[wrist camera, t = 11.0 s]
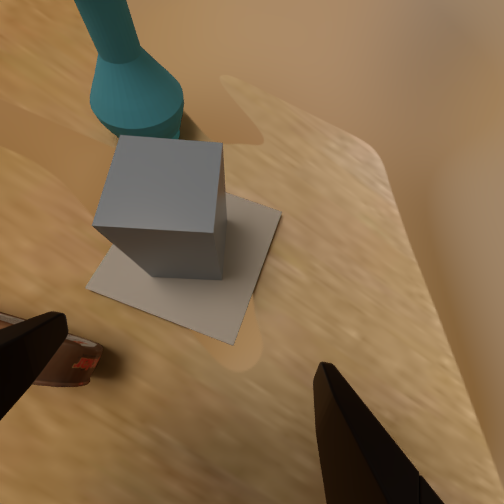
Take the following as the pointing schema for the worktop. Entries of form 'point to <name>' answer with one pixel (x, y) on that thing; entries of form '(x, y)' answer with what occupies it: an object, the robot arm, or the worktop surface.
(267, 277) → the worktop surface
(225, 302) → the thin square base plate
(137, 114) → the teal vase
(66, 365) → the tin
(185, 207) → the gray rectangular block
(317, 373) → the robot arm
